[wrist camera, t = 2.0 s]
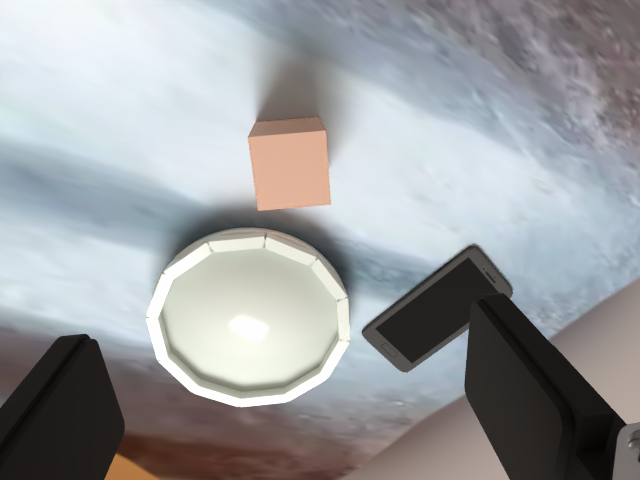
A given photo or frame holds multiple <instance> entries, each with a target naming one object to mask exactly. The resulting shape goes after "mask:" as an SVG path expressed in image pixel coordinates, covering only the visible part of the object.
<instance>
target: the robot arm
mask: <svg viewBox="0 0 640 480" xmlns="http://www.w3.org/2000/svg"><path fill="white" fill-rule="evenodd" d="M465 393H466V396H467V399H468V401H469V403H470V405H471V407H472V408H473V410H474V412H475V414H476V416H477V418H478V420H479V422H480V424H481V426H482V427H483V429H484V431H485V433H486V435H487V437H488V439H489V441H490V443H491V445H492V447H493V448H494V450H495V452H496V454H497V456H498V458H499V460H500V462H501V463H502V465H503V467H504V469H505V471H506V473H507V475H508V477H509V479H510V480H640V422H638V423H633V424H628V425H627V424H626V423H625V422H624V421H623V420H622V419H621V418H620V417H619V416H618V414H617V413H616V412H615V411H614V410H613V409H612V408H611V407H610V406H609V405H608V404H607V403H606V401H605V400H604V399H603V398H602V397H601V396H600V395H599V394H598V393H597V392H596V391H595V390H594V388H593V387H592V386H591V385H590V384H589V383H588V382H587V381H586V380H585V379H584V378H583V377H582V375H581V374H580V373H579V372H578V371H577V370H576V369H575V368H574V367H573V366H572V365H571V364H570V362H569V361H568V360H567V359H566V358H565V357H564V356H563V355H562V354H561V353H560V352H559V351H558V349H557V348H556V347H555V346H553V345H552V344H551V343H550V342H549V341H548V340H547V339H546V338H545V337H544V336H543V335H542V334H541V332H540V331H539V330H538V329H537V328H536V327H535V326H534V325H533V324H532V323H531V322H530V321H529V319H528V318H527V317H526V316H525V315H524V314H523V313H522V312H521V311H520V310H519V309H518V307H517V306H516V305H515V304H514V303H513V302H512V301H511V300H510V299H509V298H508V297H507V296H506V295H505V294H504V293H496V294H486V295H480V296H479V297H478V299H477V301H473V302H472V304H471V311H470V323H469V335H468V347H467V360H466V372H465ZM124 428H125V425H124V419H123V416H122V413H121V410H120V407H119V404H118V401H117V398H116V395H115V392H114V389H113V386H112V383H111V380H110V377H109V374H108V371H107V368H106V365H105V362H104V359H103V356H102V354H101V351H100V348H99V345H98V342H97V341H96V340H95V339H90V337H89V336H88V335H87V334H79V335H68V336H61V337H59V338H58V339H57V340H56V341H55V342H54V343H53V344H52V346H51V347H50V348H49V349H48V351H47V352H46V353H45V354H44V355H43V357H42V358H41V359H40V360H39V362H38V363H37V364H36V365H35V366H34V368H33V369H32V370H31V371H30V372H29V374H28V375H27V376H26V377H25V379H24V380H23V381H22V382H21V383H20V385H19V386H18V387H17V388H16V390H15V391H14V392H13V393H12V394H11V396H10V397H9V398H8V399H7V401H6V402H5V403H4V404H3V405H2V407H1V408H0V480H104V479H105V477H106V474H107V472H108V469H109V467H110V465H111V463H112V460H113V458H114V456H115V454H116V451H117V449H118V447H119V444H120V442H121V440H122V437H123V434H124Z"/></svg>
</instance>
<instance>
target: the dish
mask: <svg viewBox="0 0 640 480" xmlns="http://www.w3.org/2000/svg"><path fill="white" fill-rule="evenodd" d="M146 321H147V325H148V328H149V332H150V336H151V339H152V343H153V347H154V350H155V354H156V357H157V360H159V361H158V362H159V363H160V364H161V365H162V366H164V367H165V368H166V369H167V370H168V371H169V372H170V373H171V374H172V375H173V376H174V377H175V378H177V379H178V380H179V381H180V382H181V383H182V384H183V385H184V386H185V387H186V388H187V389H188V390H190V391H191V392H193V391H194V394H197V395H200V396H204V397H207V398H210V399H213V400H217V401H220V402H223V403H227V404H230V405H233V406H236V407H238V406H239V404H240V407H247V406H257V405H266V404H276V403H285V402H286V401H288V402H289V401H291V400H292V399H294V398H296V397H297V396H299V395H301V394H303V393H304V392H306V391H308V390H310V389H311V388H313V387H315V386H316V385H318V384H320V383H322V382H323V381H325V380H327V378H329V376H330V374H331V373H332V371H333V369H334V368H335V366H336V364H337V363H338V361H339V359H340V358H341V356H342V354H343V353H344V351H345V349H346V348H347V346H348V344H349V343H350V310H349V302H348V296H347V293H346V290H345V288H344V285H343V283H342V281H341V279H340V276H339V275H338V273H337V272H336V270H335V269H334V267H333V266H332V265H331V263H330V262H329V261H328V260H327V259H326V258H325V257H324V256H323V255H322V254H321V253H320V252H319V251H317V250H316V249H315V248H313V247H312V246H310V245H309V244H307V243H306V242H304V241H302V240H300V239H298V238H296V237H294V236H291V235H289V234H286V233H283V232H280V231H275V230H270V229H265V228H254V227H249V228H234V229H228V230H223V231H219V232H216V233H212V234H210V235H208V236H205V237H203V238H201V239H199V240H197V241H195V242H194V243H192V244H190V245H188V246H187V247H186V248H185V249H183V250H182V251H181V252H180V253H178V254H177V256H176V257H175V258H174V259H173V260H172V261H171V262H170V263H169V265H168V266H167V267H166V268H165V270H164V271H163V273H162V275H161V277H160V279H159V281H158V283H157V285H156V287H155V290H154V293H153V296H152V300H151V304H150V306H149V309H148V311H147V314H146Z"/></svg>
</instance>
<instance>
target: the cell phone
mask: <svg viewBox="0 0 640 480" xmlns="http://www.w3.org/2000/svg"><path fill="white" fill-rule="evenodd" d="M496 293H504V294H505V295H506V296H507V297H508V298H509V299H510V298H511V296H512V294H513V291H512V289H511V287H510V286H509V284H508V283H507V282H506V280H505V279H504V278H503V277H502V276H501V274H500V273H499V272H498V271H497V270H496V268H495V267H494V266H493V265H492V264H491V262H490V261H489V260H488V259H487V258H486V256H485V255H484V254H483V253H482V252H481V251H480V250H479V249H478V248H477V247H475V246H470V247H468V248H467V249H465V250H464V251H462V252H461V253H460V254H458V255H457V256H456V257H454V258H453V259H452V260H450V261H449V262H448V263H447V264H445V265H444V266H443V267H441V268H440V269H439V270H438V271H436V272H435V273H434V274H432V275H431V276H430V277H429V278H427V279H426V280H425V281H423V282H422V283H421V284H420V285H418V286H417V287H416V288H414V289H413V290H412V291H411V292H409V293H408V294H407V295H405V296H404V297H403V298H402V299H400V300H399V301H398V302H396V303H395V304H394V305H393V306H391V307H390V308H389V309H388V310H386V311H385V312H384V313H382V314H381V315H380V316H379V317H377V318H376V319H375V320H373V321H372V322H371V323H370V324H368V325H367V326H366V327H365V328H364V329H363V330H362V335H363V337H364V338H365V339H366V340H367V341H368V342H369V343H370V344H371V345H372V346H373V347H374V348H375V349H377V350H378V351H379V352H380V353H381V354H382V355H383V356H384V357H385V358H386V359H387V360H388V361H390V362H391V363H392V364H393V365H394V366H395V367H396V368H397V369H399V370H400V371H402V372H409V371H410V370H412V369H413V368H415V367H416V366H418V365H419V364H420V363H422V362H423V361H424V360H426V359H427V358H429V357H430V356H431V355H433V354H434V353H436V352H437V351H438V350H440V349H441V348H442V347H444V346H445V345H447V344H448V343H449V342H451V341H452V340H454V339H455V338H456V337H458V336H459V335H460V334H462V333H463V332H465V331H466V330H467V329H469V323H470V311H471V304H472V302H473V301H477V299H478V297H479V296H480V295H486V294H496Z"/></svg>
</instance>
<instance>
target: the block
mask: <svg viewBox="0 0 640 480" xmlns="http://www.w3.org/2000/svg"><path fill="white" fill-rule="evenodd" d="M248 141H249V148H250V156H251V163H252V170H253V178H254V185H255V192H256V200H257V207H258V211H264V210H275V209H286V208H297V207H308V206H319V205H330V204H331V200H330V185H329V169H328V154H327V138H326V130H325V128H324V126H323V124H322V122H321V120H320V118H319V117H308V118H296V119H284V120H272V121H260V122H255V124H254V126H253V128H252V130H251V132H250V134H249V136H248Z"/></svg>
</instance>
